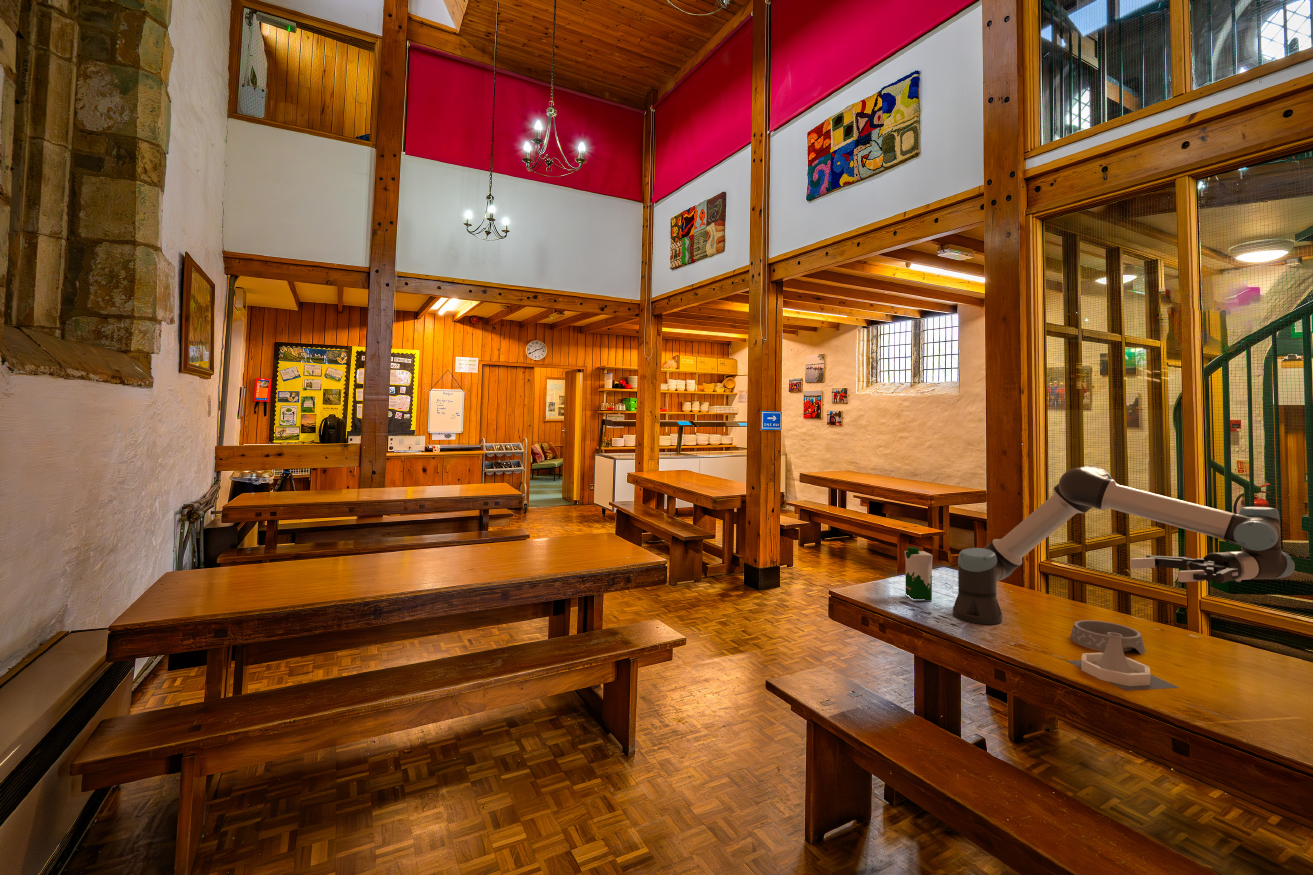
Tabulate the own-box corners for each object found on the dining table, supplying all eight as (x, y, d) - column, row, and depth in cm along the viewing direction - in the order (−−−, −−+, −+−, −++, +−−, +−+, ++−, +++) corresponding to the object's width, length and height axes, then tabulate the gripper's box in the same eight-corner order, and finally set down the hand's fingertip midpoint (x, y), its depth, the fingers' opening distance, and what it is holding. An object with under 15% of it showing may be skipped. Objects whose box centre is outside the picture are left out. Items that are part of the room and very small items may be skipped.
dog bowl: (1056, 635, 179) (1056, 618, 179) (1115, 635, 179) (1115, 618, 178) (1097, 656, 162) (1097, 638, 162) (1161, 656, 161) (1161, 638, 161)
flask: (1139, 678, 145) (1139, 640, 145) (1106, 675, 146) (1107, 638, 146) (1122, 666, 152) (1122, 630, 152) (1091, 664, 153) (1092, 628, 153)
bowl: (1068, 663, 155) (1068, 653, 155) (1115, 661, 157) (1115, 651, 157) (1114, 686, 141) (1114, 675, 141) (1164, 684, 143) (1164, 673, 143)
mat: (1066, 662, 157) (1066, 660, 157) (1115, 659, 159) (1115, 658, 159) (1125, 691, 139) (1125, 690, 139) (1179, 688, 141) (1179, 687, 141)
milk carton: (902, 595, 222) (902, 545, 222) (925, 595, 222) (925, 545, 222) (912, 602, 213) (912, 550, 213) (935, 602, 213) (935, 550, 213)
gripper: (1282, 593, 139) (1202, 597, 138) (1183, 568, 164) (1114, 571, 163) (1282, 563, 139) (1201, 567, 138) (1182, 543, 164) (1114, 546, 163)
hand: (1154, 569), depth 151 cm, fingers open, 13 cm apart
